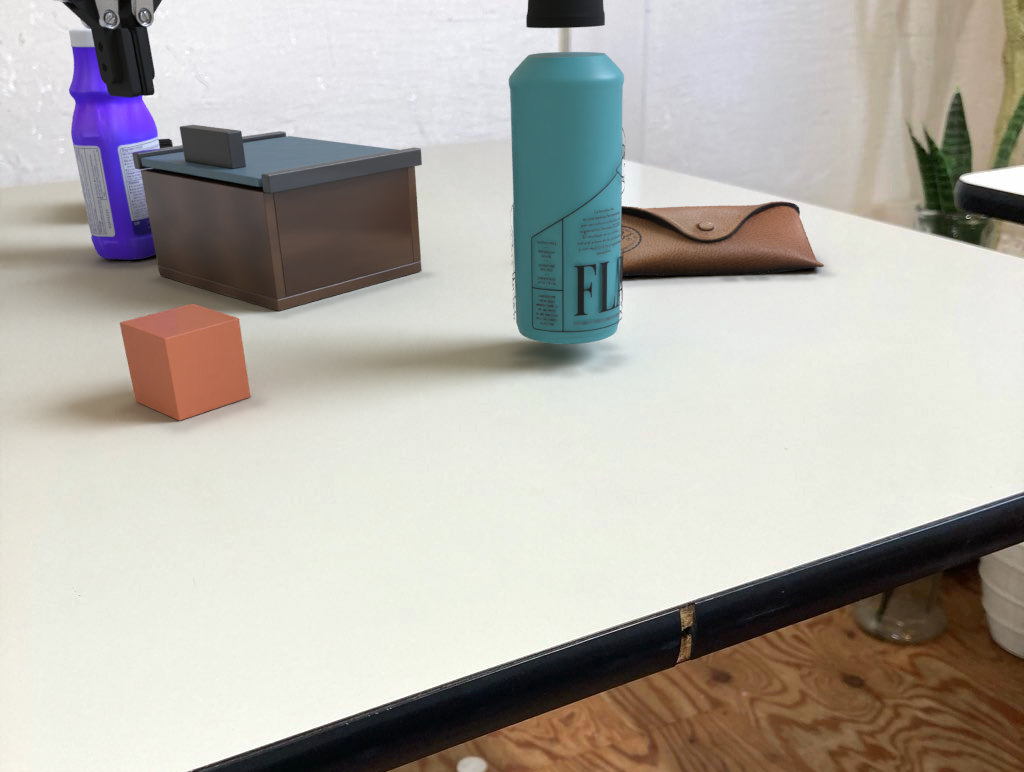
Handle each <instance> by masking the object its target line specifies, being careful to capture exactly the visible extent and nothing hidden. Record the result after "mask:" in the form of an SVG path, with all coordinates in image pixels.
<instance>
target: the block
mask: <svg viewBox="0 0 1024 772" xmlns="http://www.w3.org/2000/svg"><path fill="white" fill-rule="evenodd" d="M119 328H120V331H121V336H122V342H123V346H124V351H125V357H126V361H127V366H128V372H129V377H130V381H131V384H132V385H131V386H132V390H133V395H134V401H135V402H136V403H139V404H141V405H143V406H145V407H148V408H150V409H152V410H153V411H157V412H158V413H161V414H163V415H166V416H168V417H170V418H172V419H175V420H176V421H179V422H180V421H183V420H186V419H189V418H192V417H194V416H198V415H201V414H203V413H206V412H209V411H213V410H217V409H218V408H222V407H225V406H228V405H231V404H234V403H236V402H240V401H243V400H245V399H249V398H250V397H251V390H250V383H249V375H248V370H247V364H246V363H247V362H246V357H245V349H244V345H243V343H244V342H243V337H242V330H241V323H240V318H239V317H236V316H234V315H230V314H227V313H223V312H221V311H218V310H214V309H211V308H208V307H206V306H205V307H204V306H201V305H199V304H195V303H190V304H189V303H188V304H185V305H182V306H178V307H174V308H171V309H166V310H162V311H159V312H155V313H151V314H147V315H143V316H139V317H135V318H131V319H128V320H123V321H120V322H119Z"/></svg>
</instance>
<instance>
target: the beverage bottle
mask: <svg viewBox="0 0 1024 772" xmlns="http://www.w3.org/2000/svg"><path fill="white" fill-rule="evenodd" d="M604 9H605V7H604V0H527V12H526V19H525V23H526V24H525V25H526V28H528V29H529V28H530V29H573V28H592V27H593V28H594V27H602V26H605V24H606V13H605V10H604ZM624 83H625V75H624V72H623V71H622V70H621V68H620V67H619V66H618V64H616V62H615V61H613V60H612V58H611V57H609V56H608V55H607V54H606V53H605V52H598V51H597V52H594V51H591V52H590V51H555V52H554V51H553V52H538V53H532V54H528V55H527V56H526V57H525V58H524V59H523V60H522V61H521V62H520V63H519V65H518V66H517V67H516V68H515V69H514V70H513V71H512V73H511V74H510V76H509V78H508V87H509V97H510V98H509V99H510V101H509V102H510V131H511V134H510V135H511V163H512V164H511V166H512V167H511V169H512V198H513V203H512V205H511V210H510V211H512V222H511V220H509V221H510V223H512V226H510V228H511V229H512V230H511V232H512V233H510V236H511V239H513V243H511V247H510V248H511V251H510V252H511V253H513V254H511V256H510V257H511V258H513V260H511V263H512V271H513V272H512V275H511V277H512V278H511V279H512V281H514V282H511V285H512V290H514V296H513V298H512V300H515V302H512V303H513V306H512V307H513V308H512V309H513V314H512V316H513V320H515V323H516V327H517V329H518V332H519V334H520V335H521V336H523V337H525V338H527V339H529V340H532V341H536V342H540V343H546V344H556V345H577V344H587V343H594V342H599V341H603V340H605V339H607V338H610V337H611V336H613V335H614V334H615V333H617V331H618V328H619V323H620V321H621V320H622V318H623V316H621V315H622V314H623V312H622V309H621V307H623V299H624V298H623V296H624V295H623V292H624V291H623V288H624V287H623V276H622V269H623V255H621V234H622V230H621V227H622V228H623V225H622V224H621V206H623V205H622V202H623V201H622V200H623V199H622V197H623V193H624V191H625V186H624V187H623V184H624V185H625V184H626V182H625V181H626V178H625V175H623V166H626V164H625V162H623V160H624V159H625V158H626V141H624V139H623V135H624V137H626V134H625V131H624V128H623V87H624ZM623 141H624V142H625V144H624V143H623ZM509 214H510V217H511V213H509ZM622 251H623V249H622ZM620 269H621V272H620ZM620 314H621V315H620ZM620 316H621V317H620Z"/></svg>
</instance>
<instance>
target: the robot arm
mask: <svg viewBox="0 0 1024 772" xmlns="http://www.w3.org/2000/svg"><path fill="white" fill-rule="evenodd" d="M53 1H56V2H59V3H62V4H63V5H64V6H65V7H67V9H68V10H70V11H71V12H72V13H73V14H74V15H75V16H76V17H77V18H78V19H79V20H80V22H81V24H82V25H83V26H84V28H89V29H91V31H92V36H93V41H94V46H95V51H96V56H97V61H98V66H99V72H100V76H101V79H102V81H103V82H104V83H105V84H106V86H107V90H108V93H109V94H110V95H111V96H119V97H130V98H131V97H138V96H139V95H141V96H142V97H148V96H153V95H154V94H155V85H154V79H155V77H156V73H155V72H156V71H155V66H154V59H153V54H152V48H151V42H150V37H149V31H148V27H150V26H152V25H153V24H154V21H155V20H154V19H155V15H154V14H155V13H156V11H157V9H158V8H159V6H160V5H161V3H162V1H163V0H53Z"/></svg>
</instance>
